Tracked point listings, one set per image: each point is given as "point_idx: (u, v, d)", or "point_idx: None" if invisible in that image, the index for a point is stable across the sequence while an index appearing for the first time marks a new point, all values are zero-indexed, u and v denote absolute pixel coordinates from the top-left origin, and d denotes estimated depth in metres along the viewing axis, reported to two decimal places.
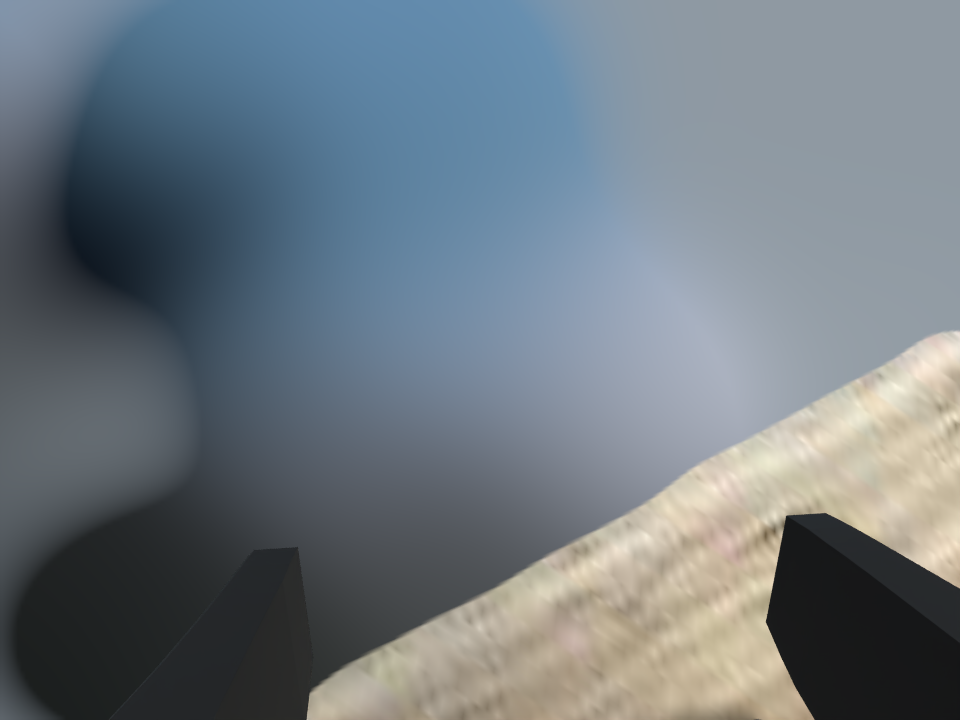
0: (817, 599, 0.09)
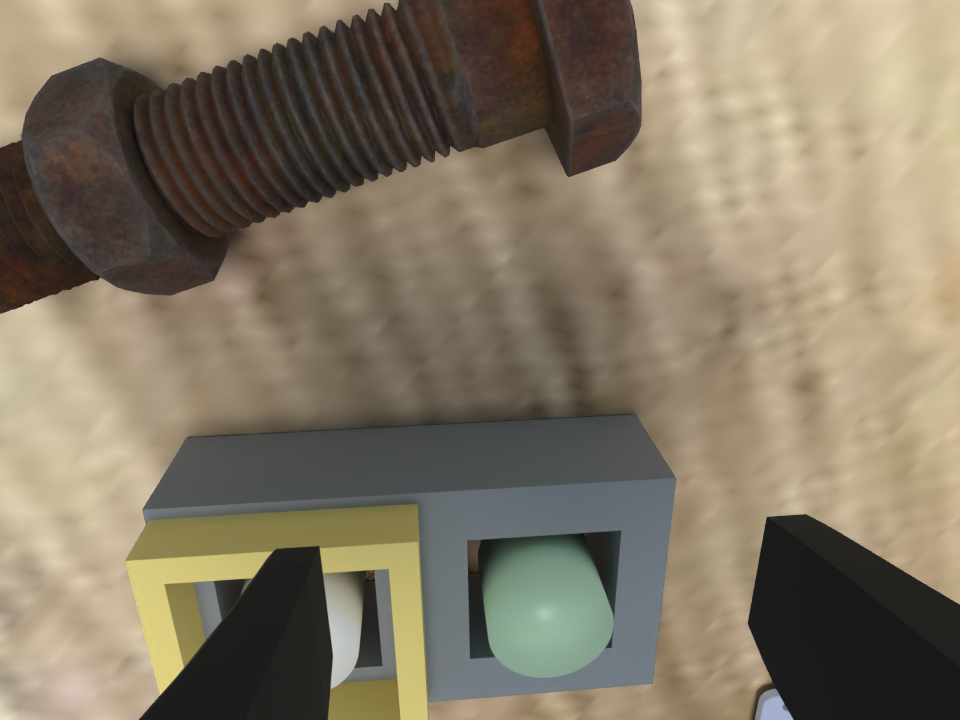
0: (796, 601, 0.09)
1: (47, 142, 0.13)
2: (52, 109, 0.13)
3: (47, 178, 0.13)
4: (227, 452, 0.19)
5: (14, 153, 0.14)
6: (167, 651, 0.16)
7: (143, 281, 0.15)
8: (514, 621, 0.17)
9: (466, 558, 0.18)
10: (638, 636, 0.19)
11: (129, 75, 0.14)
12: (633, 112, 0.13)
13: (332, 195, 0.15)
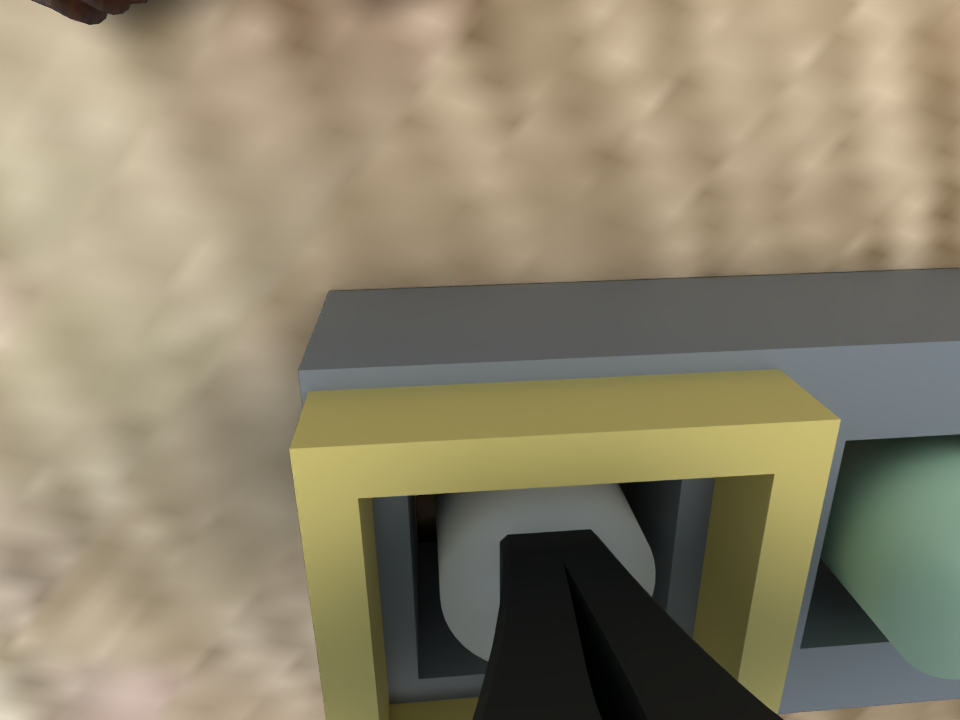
0: None
1: None
2: None
3: None
4: (407, 306, 0.11)
5: None
6: (347, 630, 0.09)
7: None
8: (945, 580, 0.10)
9: (835, 474, 0.10)
10: None
11: None
12: None
13: None
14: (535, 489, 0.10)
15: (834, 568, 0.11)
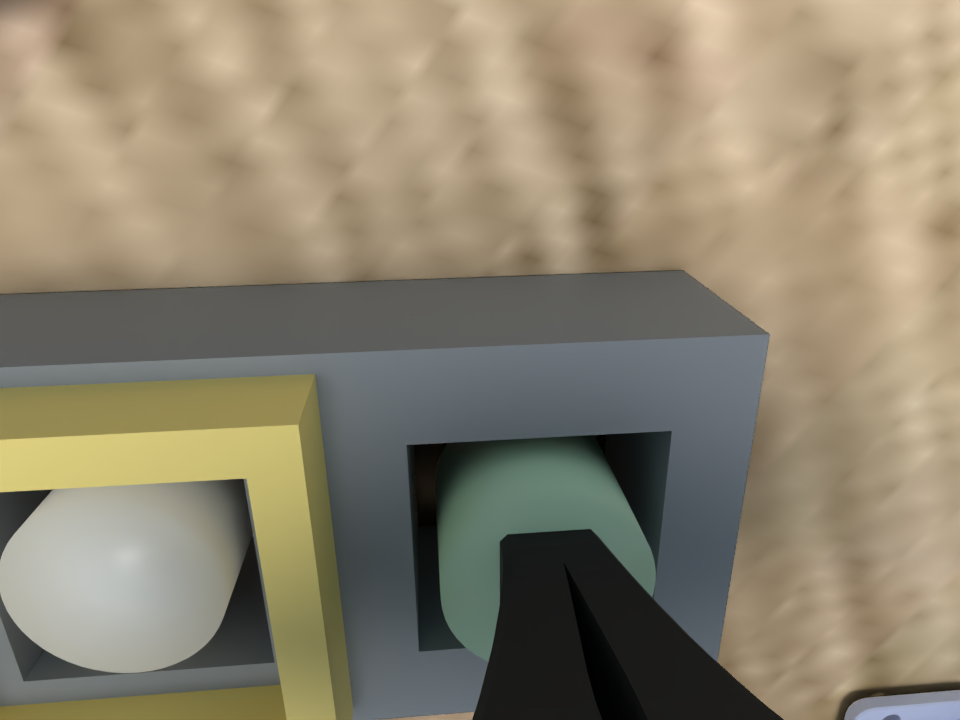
0: None
1: None
2: None
3: None
4: (18, 310, 0.11)
5: None
6: None
7: None
8: (486, 573, 0.10)
9: (406, 478, 0.10)
10: (693, 615, 0.12)
11: None
12: None
13: None
14: (83, 493, 0.10)
15: None
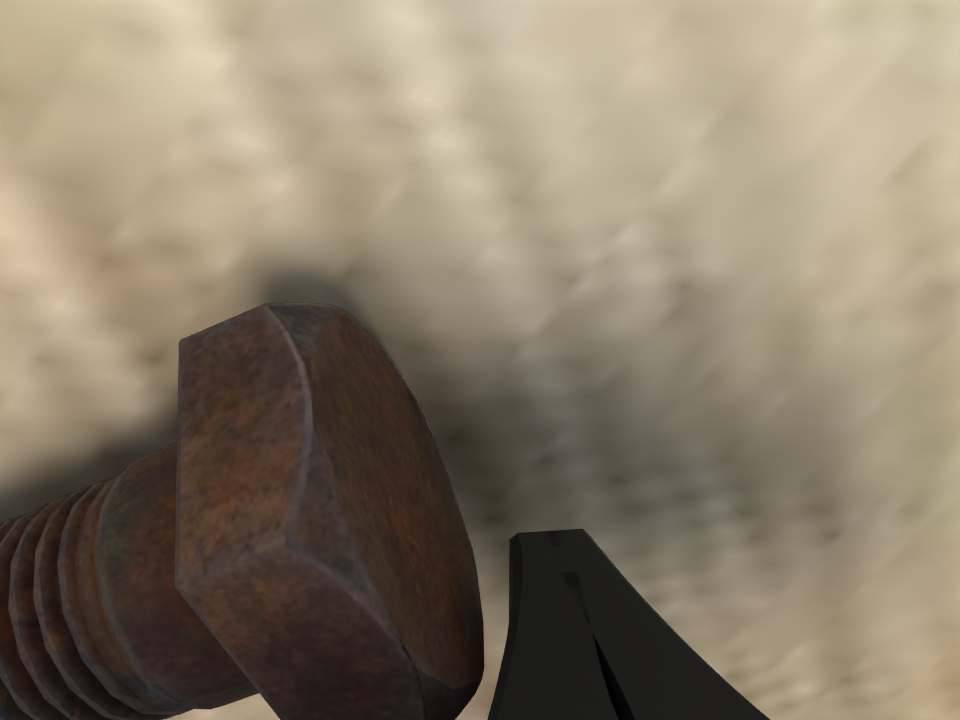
0: None
1: None
2: None
3: None
4: None
5: None
6: None
7: None
8: None
9: None
10: None
11: None
12: None
13: None
14: None
15: None
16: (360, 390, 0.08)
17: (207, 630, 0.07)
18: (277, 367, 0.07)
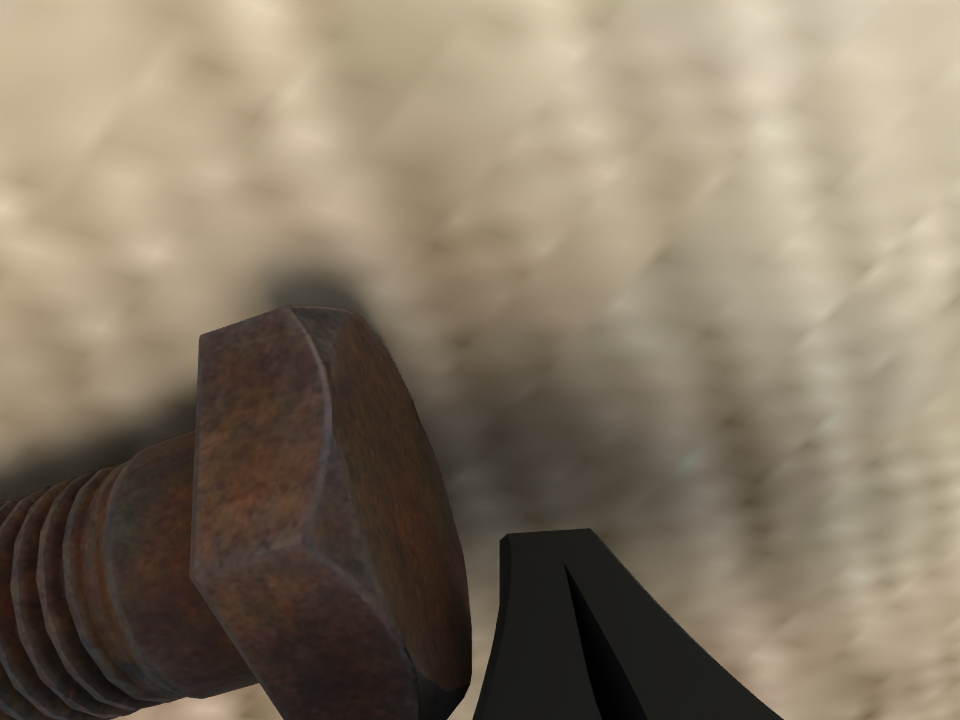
0: None
1: None
2: None
3: None
4: None
5: None
6: None
7: None
8: None
9: None
10: None
11: None
12: None
13: None
14: None
15: None
16: (371, 395, 0.09)
17: (209, 621, 0.08)
18: (298, 369, 0.07)
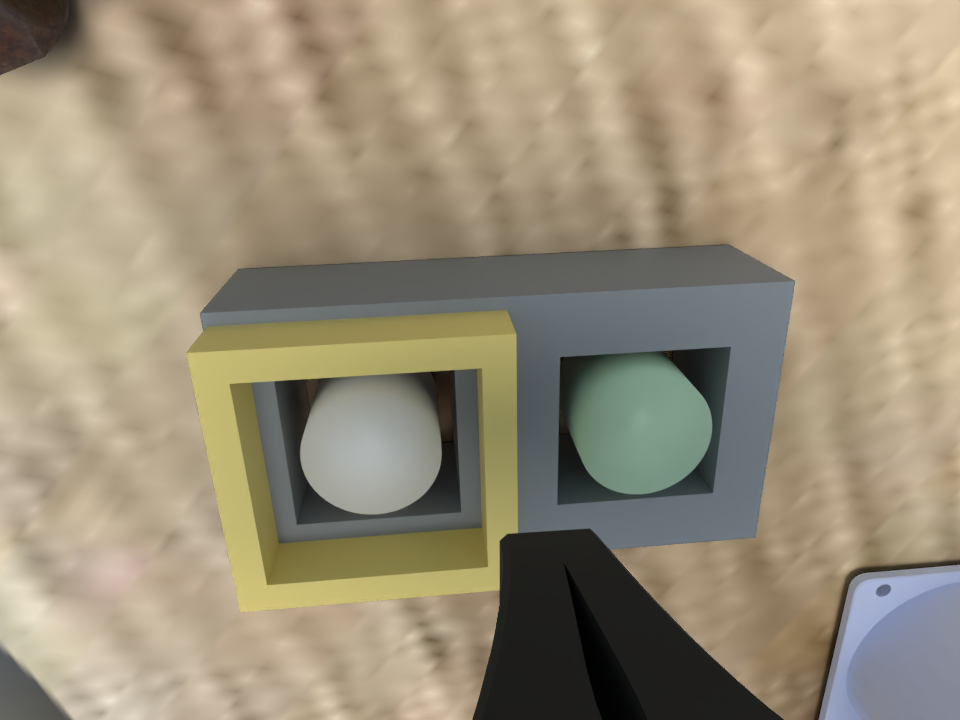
0: None
1: None
2: None
3: None
4: (286, 277, 0.17)
5: None
6: (231, 470, 0.14)
7: None
8: (607, 425, 0.16)
9: (558, 379, 0.16)
10: (743, 479, 0.17)
11: None
12: None
13: None
14: (357, 389, 0.15)
15: (570, 433, 0.18)
16: None
17: None
18: None
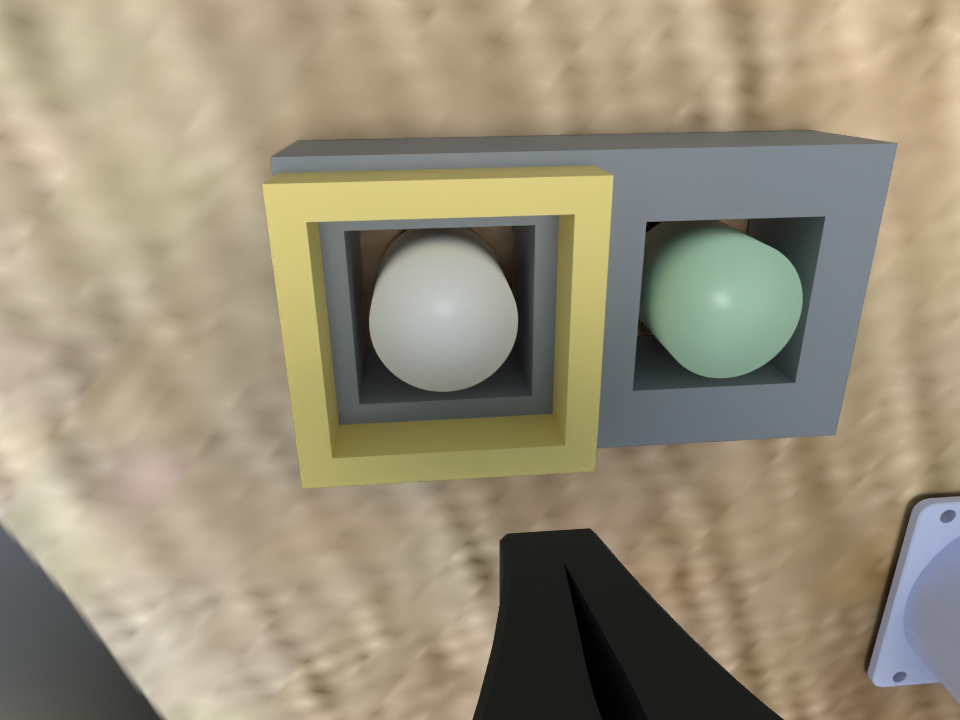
0: None
1: None
2: None
3: None
4: (351, 143, 0.16)
5: None
6: (302, 323, 0.13)
7: None
8: (693, 298, 0.15)
9: (642, 248, 0.15)
10: (827, 368, 0.17)
11: None
12: None
13: None
14: (432, 249, 0.14)
15: (644, 319, 0.17)
16: None
17: None
18: None
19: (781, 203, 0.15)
